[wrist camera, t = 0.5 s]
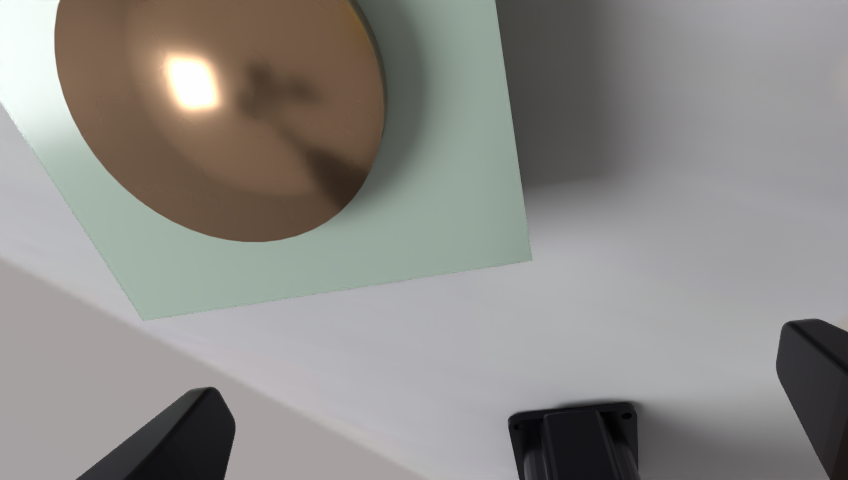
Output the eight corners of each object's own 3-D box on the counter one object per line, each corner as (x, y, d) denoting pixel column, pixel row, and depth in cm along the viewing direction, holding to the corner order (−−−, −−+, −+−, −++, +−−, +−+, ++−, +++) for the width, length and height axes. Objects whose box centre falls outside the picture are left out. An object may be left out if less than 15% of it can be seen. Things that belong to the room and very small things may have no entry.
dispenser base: (516, 192, 20) (532, 260, 16) (202, 248, 23) (142, 321, 18) (446, -275, 13) (441, -376, 9) (5, -127, 16) (-164, -152, 11)
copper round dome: (425, 148, 18) (415, 216, 14) (224, 188, 20) (156, 262, 15) (363, -115, 14) (320, -138, 10) (117, -43, 16) (-20, -35, 11)
